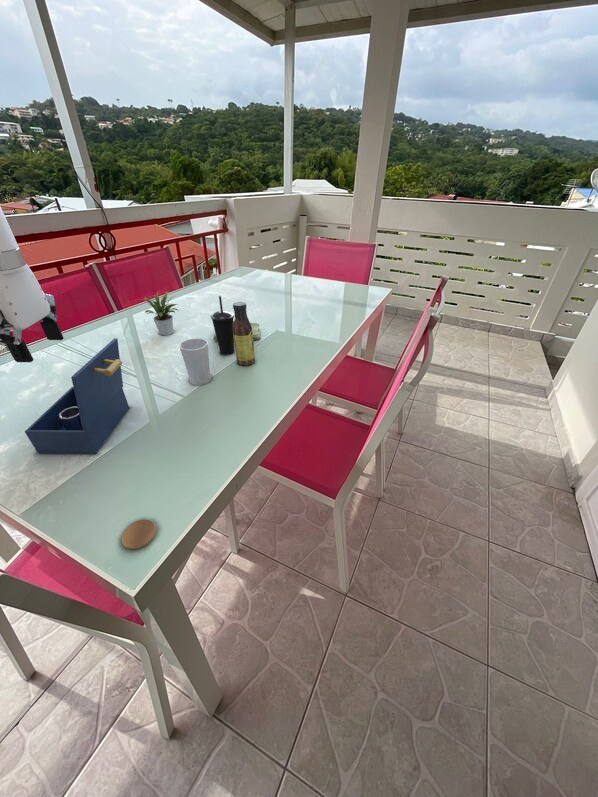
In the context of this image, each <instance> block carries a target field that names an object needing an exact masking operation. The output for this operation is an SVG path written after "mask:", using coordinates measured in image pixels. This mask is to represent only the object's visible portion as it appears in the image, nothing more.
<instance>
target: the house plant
mask: <svg viewBox="0 0 598 797" xmlns="http://www.w3.org/2000/svg"><path fill="white" fill-rule="evenodd" d="M168 293H169V291H166V292H165V293H164V294H163V296H162V298H161V300H160V297H159V290H157V292H156V294H153V296H154V299H155V300H154V299H153V298H152V297H151V296H149V298H150V299H149V298H148V297H147V295H145V296H144V297H143V299H140V298H139V300H141V301H142V300H144V301H146V303H147V304H149V306H151V307H152V308H153V310H154V311H155V312H154V311H153V310H150V309H147V310H144V311H145V312H144V313H146V315H148V314H154V315H155V316H154V317H153V323H154V324H155V326H156V329H157V331H158V333H159V335H161V336H169V335H172V334H173V333H174V318H173V315H172V314H170V313H175V314H176V311H177V312H179V309H178V308H176V307H174V306H178V304H176V303H170V301H172V299H173V298H174V297H175V295H172V296H171V297H170V298H169V299H168ZM167 299H168V300H167Z"/></svg>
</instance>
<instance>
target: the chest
mask: <svg viewBox="0 0 598 797" xmlns="http://www.w3.org/2000/svg"><path fill="white" fill-rule="evenodd" d="M74 406H76V407H78V405H77V401H76V396H75V392H74V387H73V386H72V387H70V388H69V389H68V390H67V391H65V393H64V394H62V395H61V397H59V398H58V399H57V400H56V401H55V402H54V403H53V404H52V405H51V406H50V407H49V408H47V409H46V410H45V412H44V413H43V414H41V415H40V416H39V417H38V418H37V419H36V420H35V421H34V422H33V423H31V425H30V426H29V427H28V428H26V429H25V430H24V433H25V434H26V436H27V438H28V440H29V441H30V443H31V445H32V447H33V448H34V450H35V452H36V453H37V454H38V455H97V454H98V452H99V451H100V449H101V448H102V447H103V446H104V444H105V443H106V441H107V440H108V439H109V437H110V436H111V434H112V433H113V431H114V430H115V429H116V427H117V426H118V425H119V423H120V422H121V421H122V419H123V418H124V416H125V415H126V413H127V412H128V411H129V410H130V405H129V403H128V400H127V396H126V394H125V391H124V388H123V387H122V388H121V390H120V391H119V392H118V393H117V394H116V396H115V397H114V398H113V399H112V401H111V402H110V403H109V404H108V405H107V407H106V408H105V409H104V410H103V411H102V413H101V414H100V415H99V416H98V417H97V419H96V420H95V421H94V422H93V423H92V425H91V426H90V427H89V428H88V430H87V431H81V430H66V429H65V427H64V425H63V423H62V421H61V419H60V417H59V413H61V412H62V411H63V410H64V409H67V408H70V407H74Z"/></svg>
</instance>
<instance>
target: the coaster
mask: <svg viewBox="0 0 598 797" xmlns="http://www.w3.org/2000/svg"><path fill="white" fill-rule="evenodd" d="M156 533H157V527H156V524H155V523H154V522H153V521H152V520H151V519H139V520H136V521H134V522H132V523H131V524H129V525H128V526H127V527H126V528H125V529H124V531H122V535H121V538H120V539H121V544H122V546H123V548H125V549H127V550H131V551H135V550H141V549H142V548H144V547H146V546H148V545H149V544H150V543H151V542H152V541H153V540H154V538H155V536H156Z"/></svg>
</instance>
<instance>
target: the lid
mask: <svg viewBox="0 0 598 797" xmlns="http://www.w3.org/2000/svg"><path fill="white" fill-rule="evenodd" d="M122 364H123V362H122V360H121V357H120V349H119V340H118V338H116V337H114V338H113V339H112V340H110V341H109V343H108V344H106V345H105V346H104V347H103V348H102V349H100V350H99V352H97V353H96V354H95V355H94V356H92V358H91V359H90V360H88V361H87V362H85V364H84V365H83V366H82V367H81V368H79V369H78V370H77V371H76V372H75V373H74V374H73V375H72V376H71V377H70V378H71V383H72V387H74V392H75V396H76V401H77V405H78V410H79V414H80V419H81V423H82V427H83V430H84V431H87V430H88V428H89V427H90V426H91V425H92V423H93V422H94V421H95V420H96V419H97V417H98V416H99V415H100V414H101V413H102V411H103V410H104V409H105V408H106V407H107V405H108V404H109V403H110V402H111V401H112V399H113V398H114V397H115V396H116V394H117V393H118V392H119V391H120V390H121V388H123V387H124V382H123V372H122Z"/></svg>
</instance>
